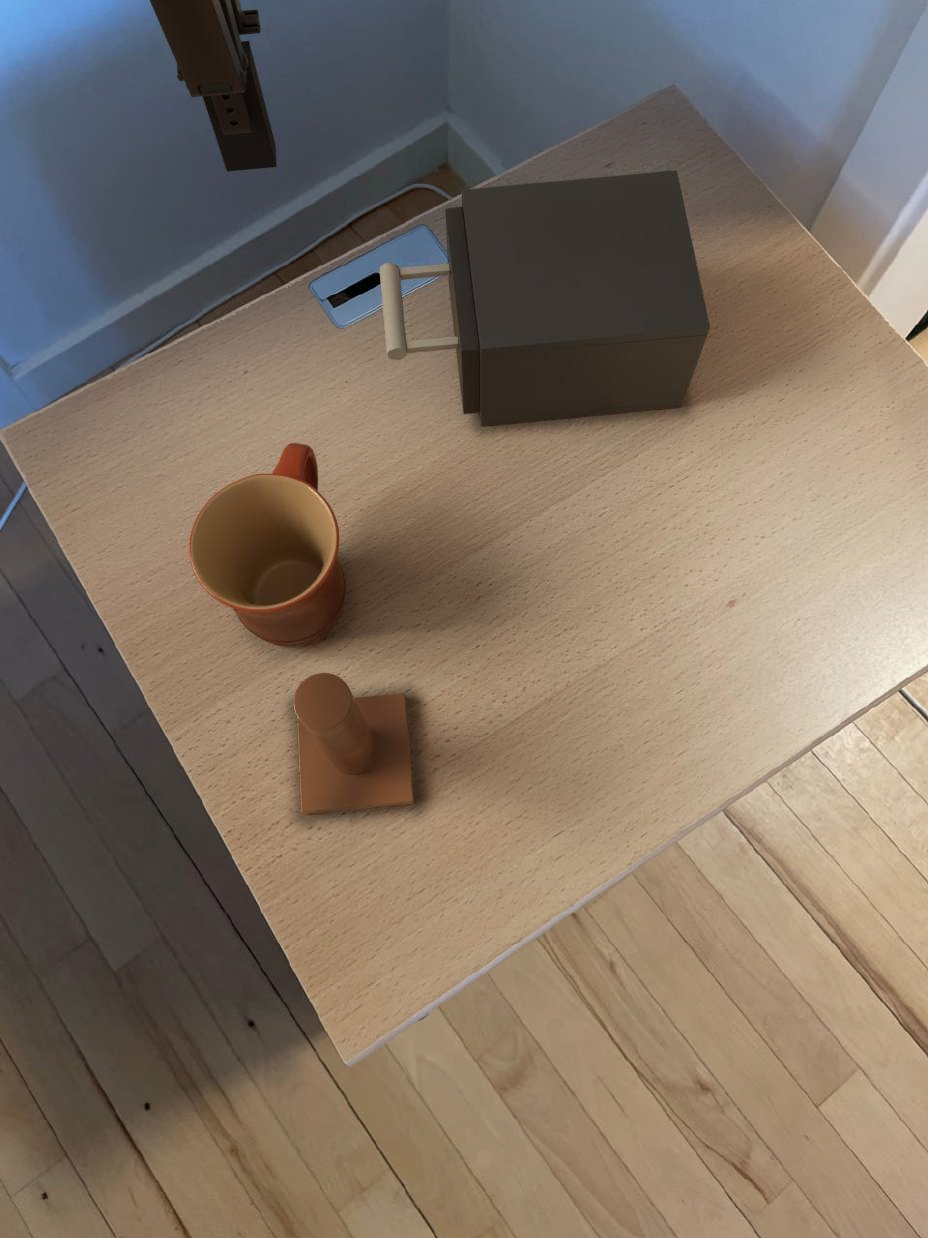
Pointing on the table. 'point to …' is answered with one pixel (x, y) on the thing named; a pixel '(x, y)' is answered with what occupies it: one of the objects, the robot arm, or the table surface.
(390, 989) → the table surface
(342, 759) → the post
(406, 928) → the table surface
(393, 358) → the drawer
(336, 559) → the mug
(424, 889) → the table surface
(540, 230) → the cabinet
